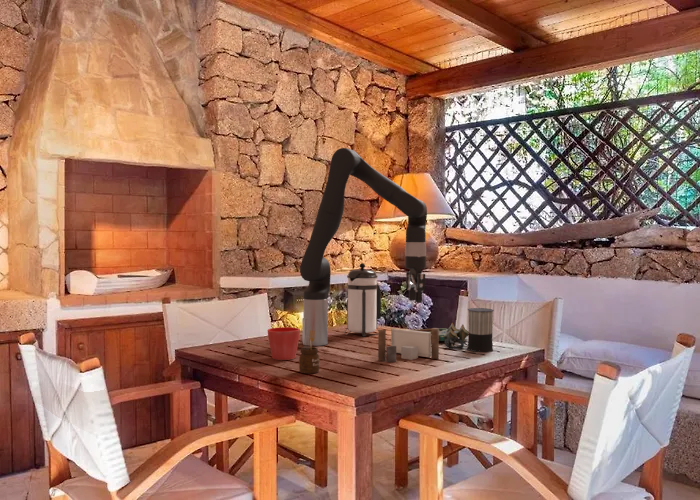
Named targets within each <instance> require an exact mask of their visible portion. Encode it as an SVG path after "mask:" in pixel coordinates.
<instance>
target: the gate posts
mask: <svg viewBox="0 0 700 500" xmlns="http://www.w3.org/2000/svg"><path fill="white" fill-rule="evenodd" d="M431 329H432V339H431V360H439V358H440V357H439V355H440V354H439V349H440V347H439V345H440V341H439V329H440V328H438V327H432V328H431ZM377 332H378V333H377V335H378V336H377V337H378V338H377V340H378V341H377V344H378V346H377V348H378V349H377V350H378V352H377V355H378V356H377V362H378V361H379V362H386V363H397V353H396V346H391V345H386V343H387V340H386V339H387V337H386V336H387V335H386V333H387V330H386V329H378V330H377Z"/></svg>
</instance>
